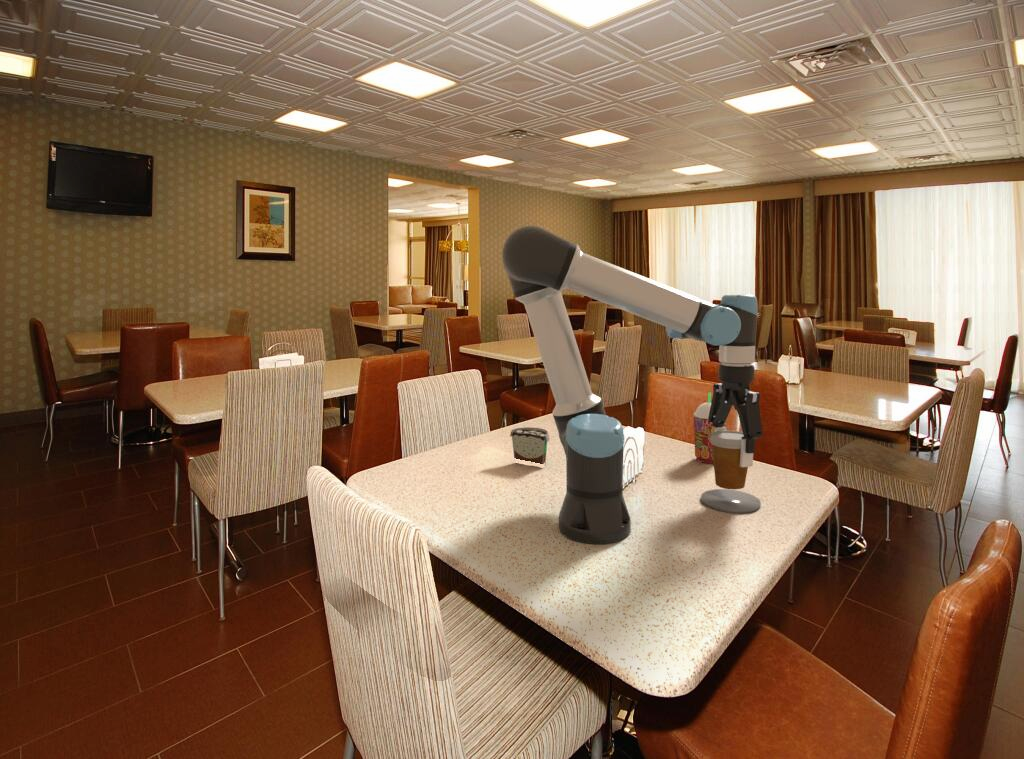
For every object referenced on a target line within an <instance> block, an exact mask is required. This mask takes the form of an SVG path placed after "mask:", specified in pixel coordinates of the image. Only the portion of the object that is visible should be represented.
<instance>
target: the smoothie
mask: <svg viewBox="0 0 1024 759" xmlns="http://www.w3.org/2000/svg"><path fill="white" fill-rule="evenodd" d="M711 396H712V393H711V392H708V395H707V397H708V398H707V402H703V403H700V404H699V405H698V406H697V408H696V409H695V411H694V412H693V432H694V456H695V457H696V460H697V461H698V462H700V463H704V464H714V462H713V452H712V444H711V441H710V438H711V436H712V433H713V432H714V426H713V425H712V422H709V421H708V417H709V412H710V407H711V402H712V397H711ZM713 417H715V416H713ZM722 427H724V426H722Z"/></svg>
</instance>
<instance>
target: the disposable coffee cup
mask: <svg viewBox="0 0 1024 759" xmlns="http://www.w3.org/2000/svg"><path fill="white" fill-rule="evenodd" d="M743 436H744V435H743V431H738V430H726V431H716V432H713V433H712V436H711V438H710V441H711V444H712V452H713V462H714V463H713V470H714V471H713V472H714V479H715V480H714V481H715V485H716V486H717V487H719V488H720V489H728V490H741V489H744V488H745V486H746V480H747V475H748V469H749V467H740V453H741V437H743Z"/></svg>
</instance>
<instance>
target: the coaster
mask: <svg viewBox="0 0 1024 759" xmlns="http://www.w3.org/2000/svg"><path fill="white" fill-rule="evenodd" d="M700 499H701V500H700V501H701V502H702V504H703V505H705V506H706V507H708V508H710V509H713V510H716V511H718V512H724V513H730V514H731V513H732V514H750V513H753V512H756V511H758V510H760V508H761V500H760V499H759V498H758V497H757V496H755V495H753V494H751V493H747V492H744V491H740V490H737V489H725V488H718V489H717V488H716V489H709V490H706V491H704V492H702V493H701V495H700Z"/></svg>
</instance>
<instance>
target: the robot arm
mask: <svg viewBox="0 0 1024 759" xmlns="http://www.w3.org/2000/svg"><path fill="white" fill-rule="evenodd" d="M501 253H502V254H501V257H502V258H501V259H502V264H503V269H504V271H505V272H506V275H507V279H508V281H509V284H510V287H511V290H512V294H513V297H514V299H515V301H517V302H519V303H522V304H523V305H524V308H525V310H526V311H525V312H526V314H527V317H528V321H529V324H530V326H531V330H532V332H533V336H534V339H535V341H536V342H535V343H536V346H537V348H538V353H539V355H540V358H541V361H542V363H543V366H544V370H545V374H546V377H547V380H548V382H549V386H550V389H551V392H552V396H553V398H554V401H555V406H554V408H553V410H552V417H553V421H554V423H555V426H556V429H557V433H558V437H559V441H560V443H561V446H562V448H563V450H564V454H565V458H566V459H565V460H566V461H565V462H566V464H565V466H566V474H565V476H566V488H565V489H566V490H565V491H566V493H565V496H564V500H563V502H562V504H561V508H560V511H559V514H558V518H557V521H558V522H557V523H558V524H557V525H558V527H557V528H559V529H558V531H559V530H560V531H559V532H560V533H561V534H562V536H564V535H565V536H564V537H566V538H568V539H571V540H573V541H575V542H580V543H585V544H595V545H596V544H599V545H600V544H610V543H616V542H619V541H621V540H624V539H625V538H627V537H628V536H629V535H630V534H631V531H632V530H631V529H632V528H631V527H632V526H631V525H632V520H631V516H630V513H629V510H628V507H627V503H626V502H625V498H624V494H623V490H624V489H623V487H624V486H623V482H624V444H625V434H624V427H623V425H622V423H621V422H620V421H619V420H618V419H616V417H615V418H614V417H613V416H609V415H607V414H606V410H605V407H604V404H603V400H602V398H601V396H598V395H596V394H595V393H593V391H592V388H591V385H590V382H589V378H588V375H587V372H586V369H585V366H584V362H583V360H582V356H581V353H580V350H579V347H578V343H577V340H576V336H575V334H574V331H573V327H572V324H571V321H570V317H569V315H568V311H567V307H566V305H565V301H564V298H563V295H562V291H563V290H566V289H568V290H569V291H573V292H575V293H578V294H579V295H582V296H586V297H588V298H590V299H593V300H596V301H598V302H601V303H603V304H606V305H608V306H611V307H614V308H616V309H619V310H622V311H625V312H628V313H629V314H632V315H635V316H636V317H637V316H638V317H640V318H643V319H645V320H648V321H650V322H653V323H656V324H658V325H661V326H663V327H665V330H666V334H667V336H668V337H669V338H670V339H675V340H676V339H677V340H678V339H680V340H684V339H685V340H687V339H691V340H695V341H698V342H704V343H706V344H708V345H712V346H716V347H717V346H719V347H718V348H719V350H718V352H719V353H718V361H719V363H720V364H719V365H718V373H717V374H718V377H717V378H718V380H719V381H720V382H721V383H714V384H713V385H712V387H713V388H712V390H713V391H712V392H713V393H712V397H711V401H710V402H711V407H710V412H709V417H708V421H709V422H712V425H713V426H714V432H716V431H727V427H726V426H727V423H726V421H727V419H728V416H729V414H730V412H731V409H732V407H733V408H734V410H736V412H737V415H738V420H739V423H740V426H741V432H743V435H744V436H743V437H741V453H740V467H748V468H751V467H753V466H754V465H753V464H754V453H755V448H756V447H755V445H756V440H757V439H760V438H761V439H762V438H763V435H764V434H763V433H764V432H763V425H762V417H761V408H760V398H761V394H760V392H758V391H756V392H755V391H751V388H750V384H751V383H753V382H754V381H755V367H756V366H754V365H753V364H754V363H755V360H756V359H755V358H756V344H757V342H756V340H757V329H758V328H757V325H758V316H759V313H758V310H759V308H758V306H759V305H758V299H757V297H756V296H755V295H754V294H725V295H722V297H721V301H720V303H715V304H714V303H712V302H709V301H707V300H705V299H701V298H699V297H697V296H694V295H691V294H689V293H686V292H684V291H682V290H679V289H676V288H674V287H671V286H669V285H666V284H663V283H661V282H658V281H656V280H653V279H650V278H649V277H646V276H643V275H641V274H638V273H636V272H633V271H630V270H628V269H626V268H623V267H621V266H618V265H615V264H613V263H610V262H608V261H605V260H602V259H600V258H597V257H595V256H592V255H590V254H588V253H584V252H583V251H582V250H581V248H580V246H579V244H577V243H574V242H572V241H569V240H567V239H565V238H563V237H561V236H558V235H557V234H555V233H554V232H551V231H549V230H547V229H545V228H543V227H541V226H537V225H525V226H521V227H518V228H517V229H515V230H514V231H512V232H511V233H510V234H509V235H508V236H507V238H506V240H505V241H504V244H503V246H502V252H501ZM713 416H715V417H713ZM722 426H723V427H722Z"/></svg>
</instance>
